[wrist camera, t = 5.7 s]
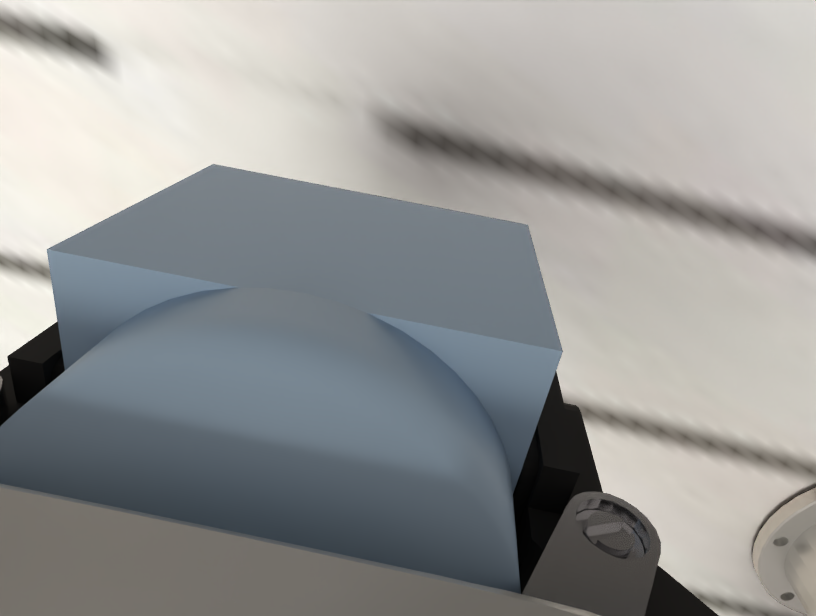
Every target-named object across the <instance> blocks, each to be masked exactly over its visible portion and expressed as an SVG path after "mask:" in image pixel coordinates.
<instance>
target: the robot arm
mask: <svg viewBox="0 0 816 616" xmlns="http://www.w3.org/2000/svg"><path fill="white" fill-rule="evenodd" d="M7 357H8V362H9V365H8V366H7V367H6V368H4V369H3V370H1V371H0V427H1V425H2V424H3V423H4V422H6V421H7V420H8V419H9V418H10V417H11V416H12V415H13V414H14V413H16V412H17V411H18V410H19V409H20V408H21V407H22V406H23V405H25V404H26V403H27V402H28V401H29V400H31V399H32V398H33V397H34V396H35V395H37V394H38V393H39V392H40V391H41V390H43V389H44V388H45V387H46V386H47V385H49V384H50V383H51V382H52V381H53V380H55V379H56V378H57V377H58V376H59V375H61V374H62V373H63V372H64V371H65V367H64V361H63V354H62V347H61V341H60V334H59V327H58V322H56V323H55V324H53V325H52V326H50V327H49V328H48V329H46V330H45V331H43V332H42V333H40V334H39V335H38V336H36V337H35V338H33V339H32V340H30V341H29V342H27V343H26V344H25V345H23V346H22V347H20V348H19V349H17V350H16V351H15V352H13V353H12V354H10V355H9V356H7ZM513 503H514V515H515V527H516V539H517V551H518V563H519V575H520V587H521V594H519V593H515V592H511V591H507V590H503V589H498V588H493V587H489V586H484V585H479V584H474V583H470V582H466V581H461V580H457V579H453V578H448V577H444V576H440V575H435V574H430V573H426V572H421V571H416V570H412V569H407V568H402V567H398V566H393V565H388V564H384V563H379V562H374V561H370V560H365V559H361V558H356V557H351V556H347V555H342V554H337V553H333V552H328V551H323V550H319V549H314V548H309V547H305V546H300V545H295V544H291V543H286V542H281V541H276V540H272V539H267V538H262V537H257V536H253V535H248V534H243V533H238V532H234V531H229V530H224V529H219V528H214V527H210V526H205V525H200V524H195V523H191V522H186V521H181V520H176V519H171V518H166V517H162V516H157V515H152V514H147V513H142V512H138V511H133V510H128V509H123V508H118V507H113V506H109V505H104V504H99V503H94V502H89V501H84V500H79V499H74V498H69V497H64V496H59V495H54V494H49V493H44V492H40V491H35V490H30V489H25V488H20V487H15V486H10V485H5V484H0V616H718V615H717V614H716V613H715V612H714V611H712V610H711V609H710V608H709V607H708V606H706V605H705V604H704V603H703V602H701V601H700V600H699V599H698V598H697V597H695V596H694V595H693V594H692V593H691V592H689V591H688V590H687V589H686V588H685V587H683V586H682V585H681V584H680V583H679V582H677V581H676V580H675V579H674V578H673V577H671V576H670V575H669V574H668V573H667V572H665V571H664V570H663V569H662V568H661V567H659V566H658V561H659V557H660V554H661V542H660V539H659V536H658V534H657V531H656V529H655V528H654V527H653V525H652V524H651V522H650V521H649V520H648V518H647V517H646V516H644V515H643V514H642V513H641V512H640V511H639V510H638V509H637V508H635V507H634V506H632V505H631V504H629V503H628V502H626V501H624V500H623V499H620V498H618V497H615V496H613V495H611V494H607V493H603V491H602V488H601V484H600V481H599V477H598V473H597V470H596V466H595V462H594V459H593V455H592V451H591V448H590V444H589V441H588V437H587V433H586V430H585V426H584V422H583V419H582V415H581V412H580V409H579V407H577V406H576V405H571V404H566V403H563V398H562V394H561V390H560V386H559V381H558V377H557V373H556V372H555V375H554V378H553V381H552V383H551V386H550V389H549V392H548V395H547V398H546V401H545V404H544V406H543V409H542V412H541V415H540V418H539V421H538V424H537V427H536V429H535V432H534V435H533V438H532V441H531V444H530V447H529V450H528V452H527V455H526V458H525V461H524V464H523V467H522V470H521V473H520V475H519V478H518V481H517V484H516V487H515V490H514V493H513ZM752 558H753V565H754V569H755V571H756V573H757V575H758V577H759V579H760V581H761V583H762V585H763V586H764V588H765V589H766V591H767V592H768V594H769V595H771V596H772V597H773V598H774V599H775V600H776V601H777V602H779V603H781V604H782V605H784V606H786V607H788V608H790V609H792V610H794V611H797V612H800V613H803V614H806V615H808V616H816V487H815V488H813V489H811V490H809V491H807V492H805V493H803V494H801V495H798V496H797V497H795V498H794V499H792V500H791V501H789V502H788V503H786V504H785V505H783V506H782V507H781V508H780V509H779V510H778V511H777V512H775V513H774V514H773V515H772V516H771V517H770V518H769V519H768V521H767V522H766V523H765V525H764V526H763V527H762V529H761V530H760V531H759V534H758V536H757V538H756V540H755V543H754V547H753V554H752Z"/></svg>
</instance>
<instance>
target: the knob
mask: <svg viewBox="0 0 816 616" xmlns="http://www.w3.org/2000/svg"><path fill="white" fill-rule="evenodd" d="M47 253H48V260H49V267H50V274H51V280H52V287H53V294H54V300H55V307H56V314H57V320H58V327H59V334H60V341H61V347H62V354H63V361H64V367H65V371H64V372H63V373H62V374H61V375H59V376H58V377H57V378H56V379H55V380H53V381H52V382H51V383H50V384H49V385H47V386H46V387H45V388H44V389H43V390H41V391H40V392H39V393H38V394H37V395H35V396H34V397H33V398H32V399H31V400H29V401H28V402H27V403H26V404H25V405H23V406H22V407H21V408H20V409H19V410H18V411H17V412H16V413H14V414H13V415H12V416H11V417H10V418H9V419H8V420H7V421H6V422H4V423H3V424H2V425H1V427H0V484H5V485H10V486H15V487H20V488H25V489H30V490H35V491H40V492H44V493H49V494H54V495H59V496H64V497H69V498H74V499H79V500H84V501H89V502H94V503H99V504H104V505H109V506H113V507H118V508H123V509H128V510H133V511H138V512H142V513H147V514H152V515H157V516H162V517H166V518H171V519H176V520H181V521H186V522H191V523H195V524H200V525H205V526H210V527H214V528H219V529H224V530H229V531H234V532H238V533H243V534H248V535H253V536H257V537H262V538H267V539H272V540H276V541H281V542H286V543H291V544H295V545H300V546H305V547H309V548H314V549H319V550H323V551H328V552H333V553H337V554H342V555H347V556H351V557H356V558H361V559H365V560H370V561H374V562H379V563H384V564H388V565H393V566H398V567H402V568H407V569H412V570H416V571H421V572H426V573H430V574H435V575H440V576H444V577H448V578H453V579H457V580H461V581H466V582H470V583H474V584H479V585H484V586H489V587H493V588H498V589H503V590H507V591H511V592H515V593H519V594H521V587H520V575H519V563H518V551H517V539H516V527H515V515H514V503H513V493H514V490H515V487H516V484H517V481H518V478H519V475H520V473H521V470H522V467H523V464H524V461H525V458H526V455H527V452H528V450H529V447H530V444H531V441H532V438H533V435H534V432H535V429H536V427H537V424H538V421H539V418H540V415H541V412H542V409H543V406H544V404H545V401H546V398H547V395H548V392H549V389H550V386H551V383H552V381H553V378H554V375H555V372H556V369H557V366H558V363H559V361H560V358H561V355H562V352H563V351H562V347H561V343H560V340H559V336H558V333H557V329H556V325H555V322H554V318H553V314H552V311H551V307H550V304H549V300H548V296H547V293H546V289H545V286H544V282H543V278H542V275H541V271H540V267H539V264H538V260H537V257H536V253H535V249H534V246H533V242H532V238H531V235H530V231H529V228H528V225H526V224H520V223H515V222H510V221H505V220H500V219H494V218H489V217H484V216H479V215H474V214H469V213H463V212H458V211H453V210H448V209H443V208H438V207H432V206H427V205H422V204H417V203H412V202H407V201H401V200H396V199H391V198H386V197H381V196H375V195H370V194H365V193H360V192H355V191H350V190H344V189H339V188H334V187H329V186H324V185H319V184H313V183H308V182H303V181H298V180H293V179H288V178H282V177H277V176H272V175H267V174H262V173H256V172H251V171H246V170H241V169H236V168H231V167H225V166H220V165H215V164H213V165H211V166H209V167H207V168H205V169H203V170H201V171H199V172H197V173H195V174H193V175H191V176H189V177H187V178H185V179H183V180H181V181H179V182H177V183H175V184H174V185H172V186H170V187H168V188H166V189H164V190H162V191H160V192H158V193H156V194H154V195H152V196H150V197H148V198H146V199H144V200H142V201H140V202H138V203H136V204H134V205H133V206H131V207H129V208H127V209H125V210H123V211H121V212H119V213H117V214H115V215H113V216H111V217H109V218H107V219H105V220H103V221H101V222H99V223H97V224H95V225H94V226H92V227H90V228H88V229H86V230H84V231H82V232H80V233H78V234H76V235H74V236H72V237H70V238H68V239H66V240H64V241H62V242H60V243H58V244H56V245H54V246H53V247H51V248H49V249H47Z"/></svg>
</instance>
